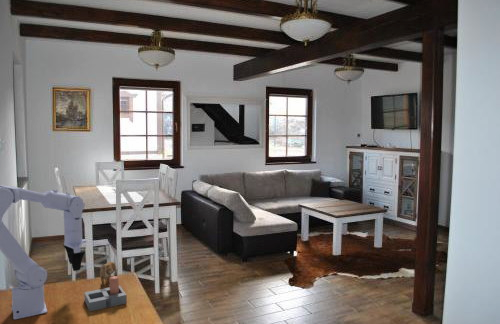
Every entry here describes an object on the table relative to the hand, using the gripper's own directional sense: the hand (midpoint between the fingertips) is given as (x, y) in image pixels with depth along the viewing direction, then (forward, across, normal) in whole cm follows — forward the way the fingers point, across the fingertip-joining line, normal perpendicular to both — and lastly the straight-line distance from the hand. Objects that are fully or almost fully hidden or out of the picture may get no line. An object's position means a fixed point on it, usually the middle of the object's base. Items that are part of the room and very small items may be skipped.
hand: (74, 266), depth 147 cm
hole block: (+10, -11, -8) cm, 17 cm away
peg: (+10, -11, -11) cm, 19 cm away
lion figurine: (+11, +6, -13) cm, 18 cm away
